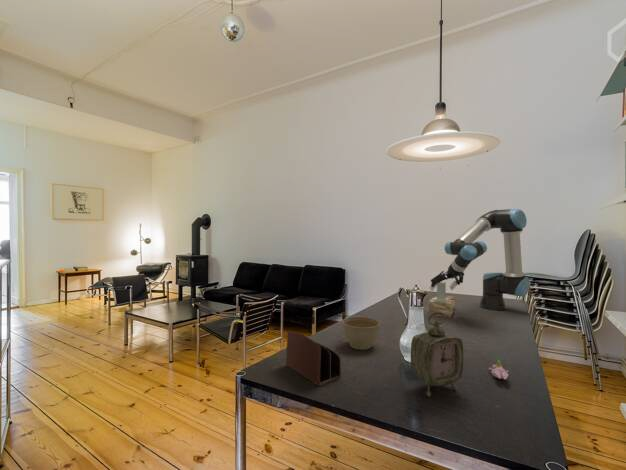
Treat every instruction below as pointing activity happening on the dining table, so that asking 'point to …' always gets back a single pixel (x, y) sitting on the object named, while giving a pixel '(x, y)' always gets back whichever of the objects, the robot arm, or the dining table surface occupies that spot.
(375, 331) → the planter bowl
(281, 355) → the dining table surface
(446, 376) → the tabletop clock
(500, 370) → the pink flower
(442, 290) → the grey green flanged column
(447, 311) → the beige streaked bowl
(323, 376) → the letter holder
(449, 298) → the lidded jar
